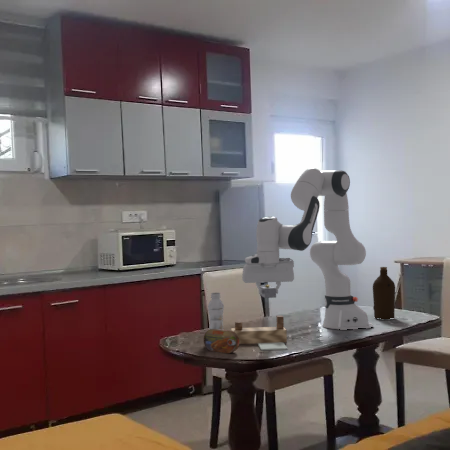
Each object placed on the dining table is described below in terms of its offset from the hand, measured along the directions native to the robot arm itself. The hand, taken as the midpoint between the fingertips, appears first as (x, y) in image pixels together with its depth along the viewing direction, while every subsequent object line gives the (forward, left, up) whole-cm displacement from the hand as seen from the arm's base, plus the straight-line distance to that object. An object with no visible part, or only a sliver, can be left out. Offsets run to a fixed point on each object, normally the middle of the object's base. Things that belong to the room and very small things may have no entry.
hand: (268, 293), depth 227 cm
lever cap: (0, 0, -1) cm, 1 cm away
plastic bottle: (+20, -10, -21) cm, 31 cm away
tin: (+19, +6, -21) cm, 29 cm away
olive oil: (-64, -50, -21) cm, 84 cm away
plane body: (+3, -9, -21) cm, 23 cm away
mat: (-1, +2, -21) cm, 21 cm away
